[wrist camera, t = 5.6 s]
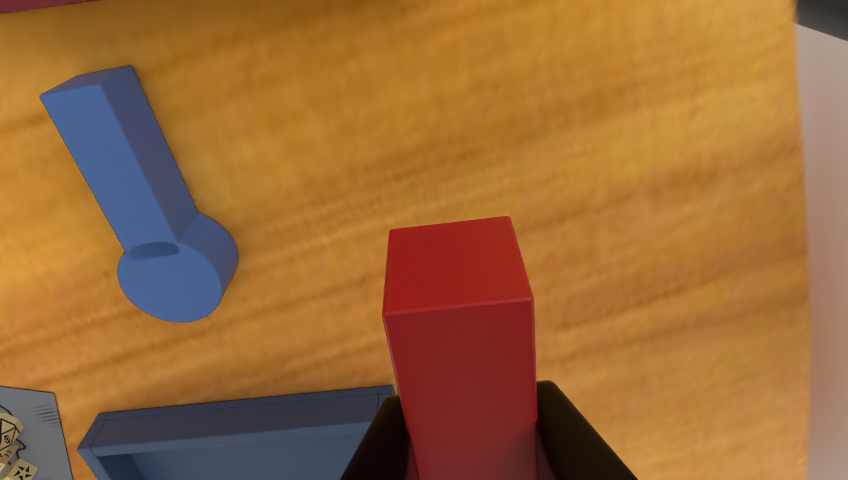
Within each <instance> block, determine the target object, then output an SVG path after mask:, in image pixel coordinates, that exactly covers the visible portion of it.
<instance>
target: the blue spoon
mask: <svg viewBox="0 0 848 480" xmlns="http://www.w3.org/2000/svg"><path fill="white" fill-rule="evenodd" d="M39 97H40V99H41V101H42V103H43V104H44V106H45V108H46V110H47V112H48V113H49V115H50V117H51V119H52V121H53V122H54V124H55V126H56V128H57V130H58V131H59V133H60V135H61V137H62V139H63V140H64V142H65V144H66V146H67V148H68V149H69V151H70V153H71V155H72V157H73V158H74V160H75V162H76V164H77V166H78V167H79V169H80V171H81V173H82V175H83V176H84V178H85V180H86V182H87V184H88V185H89V187H90V189H91V191H92V193H93V194H94V196H95V198H96V200H97V202H98V203H99V205H100V207H101V209H102V211H103V212H104V214H105V216H106V218H107V220H108V221H109V223H110V225H111V227H112V229H113V230H114V232H115V234H116V236H117V238H118V239H119V241H120V243H121V245H122V247H123V249H124V250H125V252H124V253H123V255H122V256H121V258H120V260H119V263H118V268H117V275H118V281H119V284H120V286H121V288H122V290H123V292H124V293H125V295H126V296H127V298H128V299H129V300H130V301H131V302H132V303H133V304H134V305H135V306H137V307H138V308H139V309H141V310H142V311H144V312H145V313H147V314H149V315H151V316H153V317H156V318H158V319H162V320H165V321H170V322H192V321H196V320H199V319H202V318H204V317H206V316H208V315H209V314H211V313H212V312H213V311H214V310H215V309H216V308H217V306H218V305H219V303H220V301H221V299H222V297H223V295H224V293H225V291H226V289H227V287H228V285H229V283H230V281H231V279H232V277H233V275H234V273H235V271H236V268H237V265H238V252H237V248H236V245H235V243H234V241H233V239H232V238H231V236H230V235H229V233H228V232H227V231H226V230H225V229H224V228H223V227H222V226H221V225H219V224H218V223H217V222H215V221H214V220H212V219H210V218H208V217H206V216H204V215H201V214H199V213H198V211H197V209H196V207H195V204H194V202H193V200H192V198H191V196H190V193H189V191H188V189H187V187H186V185H185V182H184V180H183V178H182V176H181V173H180V171H179V169H178V167H177V165H176V162H175V160H174V158H173V156H172V154H171V151H170V149H169V147H168V145H167V143H166V140H165V138H164V136H163V134H162V131H161V129H160V127H159V125H158V123H157V120H156V118H155V116H154V114H153V112H152V109H151V107H150V105H149V103H148V101H147V98H146V96H145V94H144V92H143V89H142V87H141V85H140V83H139V81H138V78H137V76H136V74H135V72H134V70H133V67H132V66H131V65H128V66H123V67H118V68H113V69H108V70H103V71H98V72H93V73H88V74H83V75H77V76H75V77H73V78H71V79H69V80H68V81H66V82H64V83H62V84H60V85H58V86H56V87H54V88H52V89H50V90H48V91H46V92H45V93H43V94H41V95H40V96H39Z"/></svg>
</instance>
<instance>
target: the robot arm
mask: <svg viewBox="0 0 848 480" xmlns="http://www.w3.org/2000/svg"><path fill="white" fill-rule="evenodd" d="M536 384H537V416H538V417H537V421H536V423H535V424H536V456H537V480H638V479H637V478H636V477H635V475H634V474H633V473H632V472H631V471H630V470H629V468H628V467H627V466H626V465H625V464H624V463H623V462H622V460H621V459H620V458H619V457H618V456H617V455H616V453H615V452H614V451H613V450H612V449H611V448H610V447H609V445H608V444H607V443H606V442H605V441H604V440H603V438H602V437H601V436H600V435H599V434H598V433H597V432H596V430H595V429H594V428H593V427H592V426H591V425H590V423H589V422H588V421H587V420H586V419H585V418H584V416H583V415H582V414H581V413H580V412H579V411H578V410H577V408H576V407H575V406H574V405H573V404H572V403H571V401H570V400H569V399H568V398H567V397H566V396H565V395H564V393H563V392H562V391H561V390H560V389H559V388H558V386H557V385H556V384H555V383H554V382H552V381H550V380H546V381H536ZM339 480H420V479H419V474H418V470H417V465H416V460H415V455H414V451H413V446H412V441H411V436H410V434H409V433H408V431H407V428H406V424H405V419H404V415H403V410H402V405H401V401H400V396H399V395H390V396H388V397H386V398H385V399H384V401H383V403H382V404H381V406H380V408H379V410H378V412H377V413H376V415H375V417H374V419H373V421H372V422H371V424H370V426H369V428H368V429H367V431H366V433H365V435H364V437H363V438H362V440H361V442H360V444H359V446H358V447H357V449H356V451H355V453H354V454H353V456H352V458H351V460H350V462H349V463H348V465H347V467H346V469H345V470H344V472H343V474H342V476H341V478H340V479H339Z"/></svg>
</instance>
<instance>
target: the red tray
mask: <svg viewBox="0 0 848 480" xmlns="http://www.w3.org/2000/svg"><path fill="white" fill-rule="evenodd" d="M89 1H96V0H0V14H5V13H12V12H19V11H26V10H33V9H40V8H47V7H54V6H61V5H68V4H75V3H82V2H89Z"/></svg>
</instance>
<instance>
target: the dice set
mask: <svg viewBox="0 0 848 480" xmlns="http://www.w3.org/2000/svg"><path fill="white" fill-rule="evenodd" d="M23 430H24V428H23V425H22V424H21V423H20V422H19V420H18V419H14V418H13V417H12V416H8V415H7V414H6V413H0V473H1V472H2V470H3V469H4V468H5V467H6V465H7V464H8V463H9V461H10V460H11V459H12V457H13V456H14V455H15V453H16V452H17V450H18V449H19V448H18V447H15V446H14V445H13V443H14V442H15V440H16V439H17V438H18V436H19V435H20V434H21V432H22V431H23ZM37 472H38V468H37V467H33V466H32V465H29V464H28V463H27V462H24V461H23V460H20V459H18V460H16V461H15V462H13V463H12V464H11V465H9V466H8V467H7V468H6V469H5V471H4V472H3V474H2V475H1V476H0V480H32V479H33V478H34V476H35V475H36V473H37Z"/></svg>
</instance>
